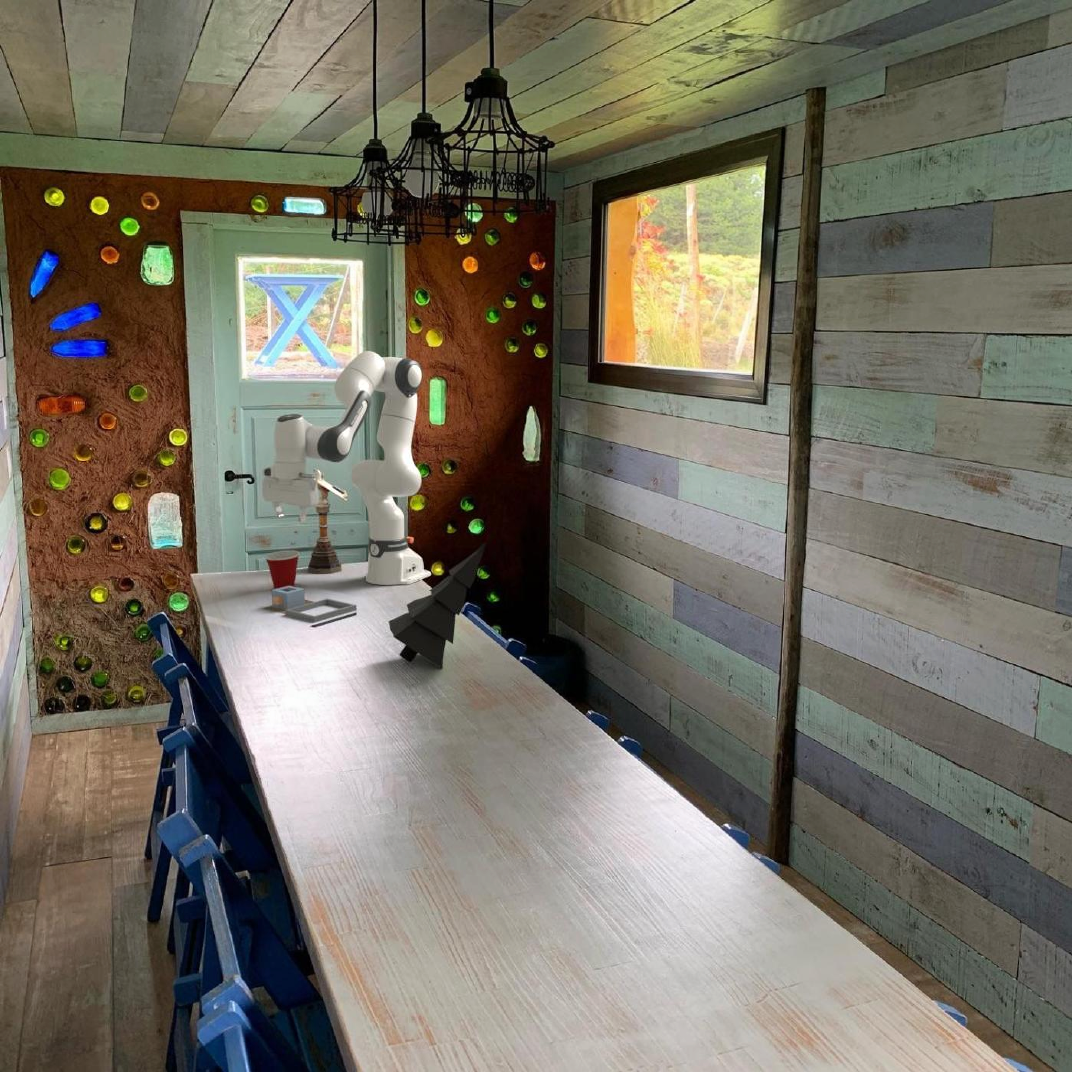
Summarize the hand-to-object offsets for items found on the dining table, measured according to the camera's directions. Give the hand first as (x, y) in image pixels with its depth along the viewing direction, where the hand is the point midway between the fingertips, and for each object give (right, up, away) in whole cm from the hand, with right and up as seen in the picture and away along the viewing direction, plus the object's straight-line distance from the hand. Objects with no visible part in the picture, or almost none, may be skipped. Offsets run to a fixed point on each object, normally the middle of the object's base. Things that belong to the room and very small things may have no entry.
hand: (290, 519), depth 311 cm
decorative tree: (+46, -36, -41) cm, 71 cm away
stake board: (0, -27, +3) cm, 27 cm away
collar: (-1, -25, +2) cm, 25 cm away
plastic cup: (-8, -22, +26) cm, 35 cm away
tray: (+10, -28, -4) cm, 30 cm away
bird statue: (+1, -16, +55) cm, 58 cm away
